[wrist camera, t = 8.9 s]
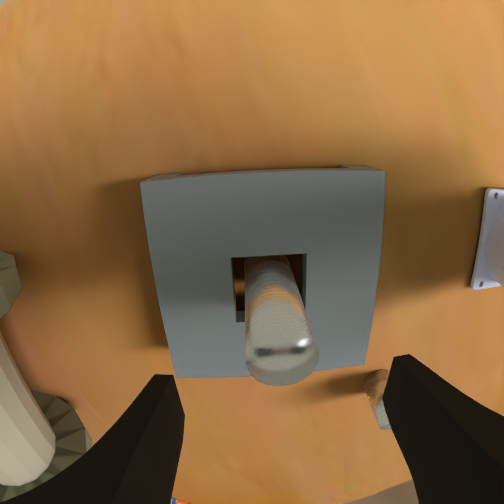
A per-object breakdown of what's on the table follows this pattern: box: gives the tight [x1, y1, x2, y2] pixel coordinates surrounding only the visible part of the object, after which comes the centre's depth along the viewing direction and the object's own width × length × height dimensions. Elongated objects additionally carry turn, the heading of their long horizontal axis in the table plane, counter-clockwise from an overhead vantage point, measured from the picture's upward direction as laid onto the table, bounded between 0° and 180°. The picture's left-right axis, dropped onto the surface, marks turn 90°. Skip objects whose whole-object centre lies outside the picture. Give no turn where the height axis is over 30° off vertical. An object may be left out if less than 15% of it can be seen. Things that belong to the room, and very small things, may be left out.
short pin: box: [363, 369, 391, 430], centre depth 21 cm, size 3×3×4 cm
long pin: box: [245, 255, 319, 386], centre depth 15 cm, size 3×3×9 cm
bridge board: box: [140, 165, 386, 378], centre depth 18 cm, size 12×12×3 cm
